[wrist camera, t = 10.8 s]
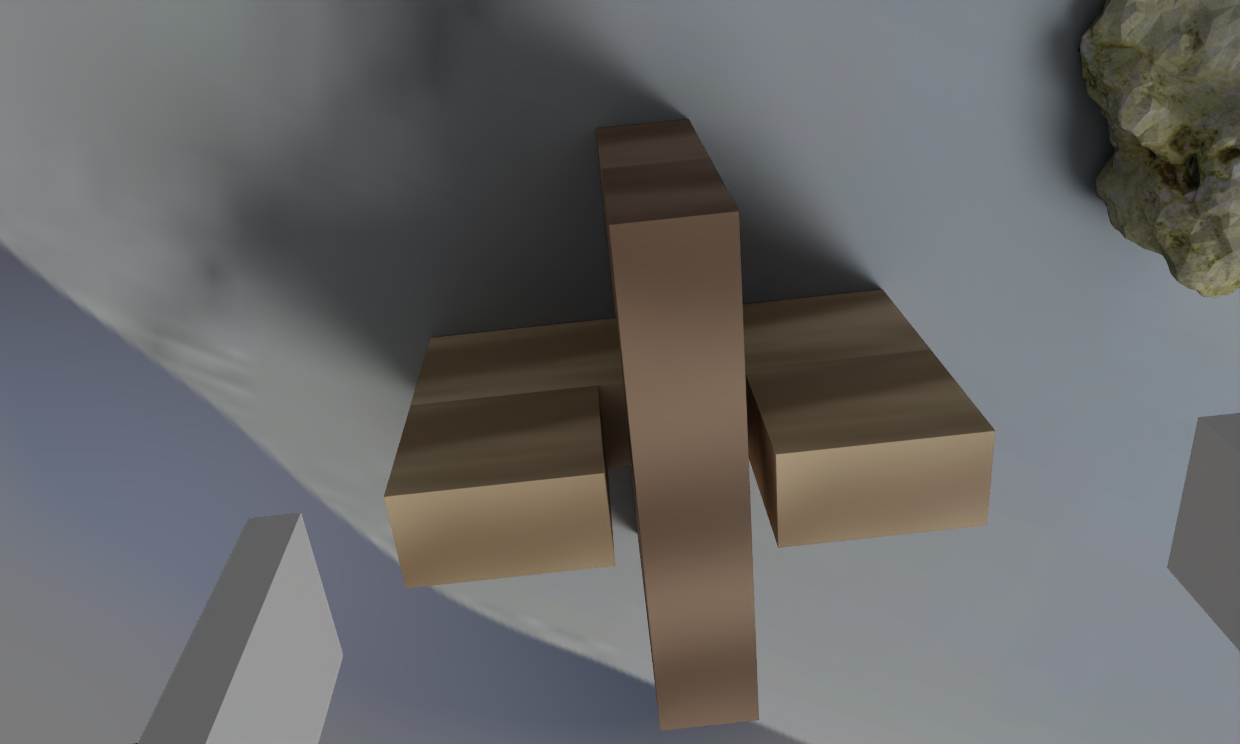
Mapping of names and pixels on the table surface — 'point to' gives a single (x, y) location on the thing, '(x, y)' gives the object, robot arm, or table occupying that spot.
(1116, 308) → the table surface
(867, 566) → the table surface
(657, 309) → the walnut plate
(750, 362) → the oak board
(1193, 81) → the rock
